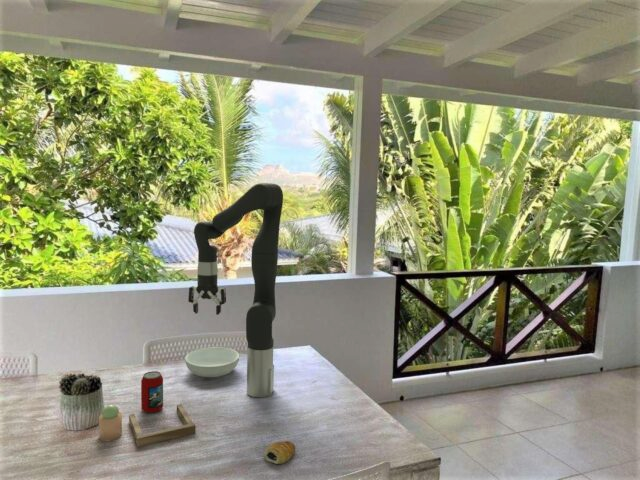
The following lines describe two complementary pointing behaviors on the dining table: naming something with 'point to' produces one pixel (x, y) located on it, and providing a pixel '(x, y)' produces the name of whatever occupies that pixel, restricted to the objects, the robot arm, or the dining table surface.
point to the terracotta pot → (110, 423)
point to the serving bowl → (212, 361)
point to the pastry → (279, 452)
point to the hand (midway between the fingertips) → (207, 313)
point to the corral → (163, 434)
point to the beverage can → (152, 392)
